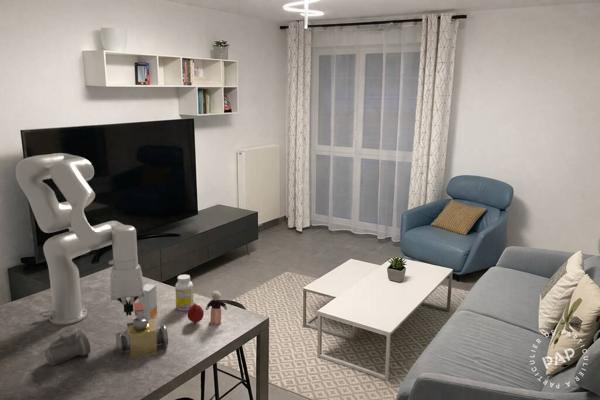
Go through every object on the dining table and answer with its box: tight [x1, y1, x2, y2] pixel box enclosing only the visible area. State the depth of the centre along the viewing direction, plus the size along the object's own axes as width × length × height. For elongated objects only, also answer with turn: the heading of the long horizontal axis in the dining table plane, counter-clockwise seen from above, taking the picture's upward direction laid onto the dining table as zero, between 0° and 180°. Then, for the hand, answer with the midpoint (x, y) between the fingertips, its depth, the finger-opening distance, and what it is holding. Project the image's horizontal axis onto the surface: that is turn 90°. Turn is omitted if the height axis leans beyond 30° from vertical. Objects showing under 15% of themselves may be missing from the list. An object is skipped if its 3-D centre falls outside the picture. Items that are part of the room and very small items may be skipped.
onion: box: [186, 302, 205, 324], centre depth 174 cm, size 6×6×8 cm
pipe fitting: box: [44, 325, 91, 367], centre depth 149 cm, size 12×8×10 cm
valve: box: [115, 318, 169, 359], centre depth 156 cm, size 15×8×8 cm, turn 115°
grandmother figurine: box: [205, 290, 228, 326], centre depth 174 cm, size 8×4×13 cm, turn 102°
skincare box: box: [138, 283, 158, 320], centre depth 177 cm, size 6×4×12 cm
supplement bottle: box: [175, 274, 195, 312], centre depth 185 cm, size 7×7×13 cm
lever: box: [132, 301, 149, 330], centre depth 160 cm, size 16×5×2 cm, turn 23°
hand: (128, 313), depth 163 cm, fingers closed
